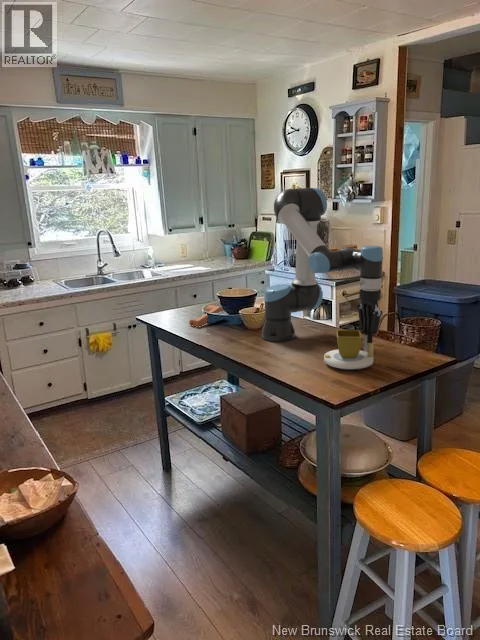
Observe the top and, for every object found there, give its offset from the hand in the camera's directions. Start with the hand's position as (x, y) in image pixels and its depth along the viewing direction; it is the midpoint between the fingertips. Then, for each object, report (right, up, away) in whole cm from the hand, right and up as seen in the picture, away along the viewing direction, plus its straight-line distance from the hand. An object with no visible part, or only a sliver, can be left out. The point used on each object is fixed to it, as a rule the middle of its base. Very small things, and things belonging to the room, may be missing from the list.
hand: (367, 350), depth 179 cm
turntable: (-7, -4, -1) cm, 8 cm away
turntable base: (-7, -5, -1) cm, 9 cm away
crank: (-65, +10, +67) cm, 93 cm away
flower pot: (-7, -2, -1) cm, 8 cm away
